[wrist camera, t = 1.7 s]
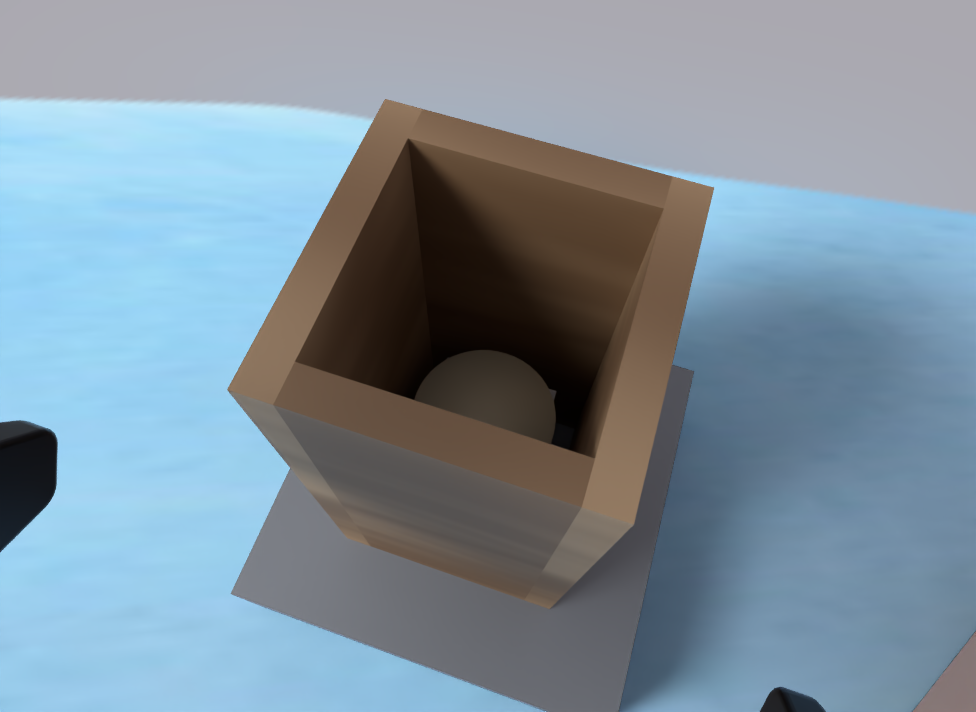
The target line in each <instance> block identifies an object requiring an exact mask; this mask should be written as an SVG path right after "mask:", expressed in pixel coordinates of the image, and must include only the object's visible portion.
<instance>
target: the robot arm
mask: <svg viewBox="0 0 976 712" xmlns="http://www.w3.org/2000/svg"><path fill="white" fill-rule="evenodd" d="M57 447H58V442H57V438H56V435H55V433H54V432H53V431H51V430H50V429H48V428H45V427H42V426H39V425H36V424H34V423H31V422H27V421H21V420H19V421H10V422H1V423H0V552H1V551H2V550H3V549H4V548H5V547H6V546H7V545H8V544H9V543H10V542H11V541H12V540H13V539H14V538H15V537H16V536H17V535H18V534H19V533H20V532H21V531H22V530H23V529H24V528H25V527H26V526H27V525H28V524H29V523H30V522H31V521H32V520H33V519H34V518H35V517H36V516H37V515H38V514H39V513H40V512H41V511H42V510H43V509H44V508H45V507H46V506H47V505H48V503H49V502H50V501H51V499H52V497H53V495H54V493H55V490H56V484H57ZM760 712H826V711H825V710H824V709H823V707H822V706H821V705H820V704H819V703H818V702H817V701H816V700H815V699H813V698H812V697H809V696H807V695H804V694H801V693H798V692H795V691H792V690H790V689H787V688H784V687H777V688H774V689H773V690H772V691H771V692H770V694H769V695H768V697H767V699H766V701H765V703H764V705H763V707H762V709H761V711H760Z"/></svg>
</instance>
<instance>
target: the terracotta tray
mask: <svg viewBox="0 0 976 712" xmlns="http://www.w3.org/2000/svg"><path fill="white" fill-rule="evenodd" d="M913 712H976V632H975V633H974V634H973V635H972V637H971V638H970V639H969V641H968V642H967V643H966V644H965V646H964V647H963V648H962V649H961V651H960V652H959V653H958V655H957V656H956V657H955V658H954V660H953V661H952V662H951V663H950V665H949V666H948V667H947V669H946V670H945V671H944V672H943V674H942V675H941V676H940V677H939V679H938V680H937V681H936V683H935V684H934V685H933V686H932V688H931V689H930V690H929V691H928V693H927V694H926V695H925V697H924V698H923V699H922V700H921V702H920V703H919V704H918V705H917V707H916V708H915V709H914V711H913Z"/></svg>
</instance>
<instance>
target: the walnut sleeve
mask: <svg viewBox="0 0 976 712" xmlns="http://www.w3.org/2000/svg"><path fill="white" fill-rule="evenodd" d="M713 190H714V188H713V187H710V186H706V185H702V184H698V183H695V182H691V181H687V180H684V179H680V178H676V177H672V176H669V175H665V174H661V173H658V172H654V171H650V170H647V169H643V168H639V167H635V166H632V165H628V164H624V163H621V162H617V161H613V160H609V159H606V158H602V157H598V156H595V155H591V154H587V153H583V152H580V151H576V150H572V149H568V148H565V147H561V146H558V145H554V144H550V143H546V142H542V141H539V140H535V139H532V138H528V137H524V136H520V135H516V134H513V133H509V132H506V131H502V130H498V129H495V128H491V127H487V126H483V125H480V124H476V123H472V122H469V121H465V120H461V119H457V118H454V117H450V116H446V115H442V114H439V113H435V112H432V111H427V110H423V109H420V108H417V107H413V106H409V105H405V104H402V103H398V102H394V101H391V100H387V99H385V100H384V102H383V104H382V106H381V108H380V109H379V111H378V113H377V115H376V117H375V118H374V120H373V122H372V124H371V126H370V128H369V130H368V131H367V133H366V135H365V137H364V139H363V141H362V142H361V144H360V146H359V148H358V150H357V152H356V153H355V155H354V157H353V159H352V161H351V163H350V165H349V166H348V168H347V170H346V172H345V174H344V176H343V177H342V179H341V181H340V183H339V185H338V187H337V188H336V190H335V192H334V194H333V196H332V198H331V200H330V201H329V203H328V205H327V207H326V209H325V211H324V212H323V214H322V216H321V218H320V220H319V222H318V223H317V225H316V227H315V229H314V231H313V233H312V234H311V236H310V238H309V240H308V242H307V244H306V246H305V247H304V249H303V251H302V253H301V255H300V257H299V258H298V260H297V262H296V264H295V266H294V268H293V269H292V271H291V273H290V275H289V277H288V279H287V281H286V282H285V284H284V286H283V288H282V290H281V292H280V293H279V295H278V297H277V299H276V301H275V303H274V304H273V306H272V308H271V310H270V312H269V314H268V316H267V317H266V319H265V321H264V323H263V325H262V327H261V328H260V330H259V332H258V334H257V336H256V338H255V339H254V341H253V343H252V345H251V347H250V349H249V351H248V352H247V354H246V356H245V358H244V360H243V362H242V363H241V365H240V367H239V369H238V371H237V373H236V374H235V376H234V378H233V380H232V382H231V384H230V386H229V387H228V389H227V390H228V391H229V393H230V394H231V395H232V396H233V398H234V399H235V400H236V401H237V403H238V404H239V405H240V406H241V407H242V409H243V410H244V411H245V412H246V414H247V415H248V416H249V417H250V419H251V420H252V421H253V422H254V424H255V425H256V426H257V427H258V429H259V430H260V431H261V432H262V433H263V435H264V436H265V437H266V438H267V440H268V441H269V442H270V443H271V445H272V446H273V447H274V448H275V450H276V451H277V452H278V453H279V455H280V456H281V457H282V458H283V459H284V461H285V462H286V463H287V464H288V466H289V467H290V468H291V469H292V471H293V472H294V473H295V474H296V476H297V477H298V478H299V479H300V480H301V482H302V483H303V484H304V485H305V487H306V488H307V489H308V490H309V492H310V493H311V494H312V495H313V497H314V498H315V499H316V500H317V502H318V503H319V504H320V505H321V506H322V508H323V509H324V510H325V511H326V513H327V514H328V515H329V516H330V518H331V519H332V520H333V521H334V523H335V524H336V525H337V526H338V528H339V529H340V530H341V531H342V532H343V534H344V535H345V536H346V537H347V538H348V539H351V540H354V541H357V542H360V543H363V544H365V545H368V546H371V547H374V548H377V549H380V550H383V551H385V552H388V553H391V554H394V555H397V556H400V557H402V558H405V559H408V560H411V561H414V562H417V563H420V564H422V565H425V566H428V567H431V568H434V569H437V570H439V571H442V572H445V573H448V574H451V575H454V576H457V577H459V578H462V579H465V580H468V581H471V582H474V583H476V584H479V585H482V586H485V587H488V588H491V589H494V590H496V591H499V592H502V593H505V594H508V595H511V596H513V597H516V598H519V599H522V600H525V601H528V602H531V603H533V604H536V605H539V606H542V607H545V608H548V609H550V608H551V607H552V606H553V605H554V604H555V603H556V602H557V601H558V600H559V599H560V598H561V597H562V596H563V595H564V594H565V593H566V592H567V591H568V590H569V589H570V588H571V587H572V586H573V585H574V584H575V583H576V582H577V581H578V580H579V579H580V578H581V577H582V576H583V575H584V574H585V573H586V572H587V571H588V570H589V569H590V568H591V567H592V566H593V565H594V564H595V563H596V562H597V561H598V560H599V559H600V558H601V557H602V556H603V555H604V554H605V553H606V552H607V551H608V550H609V549H610V548H611V547H612V546H613V545H614V544H615V543H616V542H617V541H618V540H619V539H620V538H621V537H622V536H623V535H624V534H625V533H626V532H627V531H628V530H629V529H630V528H631V527H632V526H633V525H634V522H635V518H636V513H637V509H638V505H639V501H640V497H641V492H642V488H643V484H644V480H645V476H646V471H647V467H648V463H649V459H650V455H651V450H652V446H653V442H654V438H655V434H656V429H657V425H658V421H659V417H660V413H661V408H662V404H663V400H664V396H665V392H666V388H667V383H668V379H669V375H670V371H671V367H672V362H673V358H674V354H675V350H676V346H677V341H678V337H679V333H680V329H681V325H682V320H683V316H684V312H685V308H686V304H687V299H688V295H689V291H690V287H691V283H692V278H693V274H694V270H695V266H696V262H697V257H698V253H699V249H700V245H701V241H702V237H703V232H704V228H705V224H706V220H707V216H708V211H709V207H710V203H711V199H712V195H713ZM475 350H492V351H498V352H502V353H506V354H509V355H512V356H514V357H516V358H518V359H520V360H522V361H524V362H525V363H526V364H528V365H529V366H531V367H532V368H533V369H534V370H535V371H536V372H537V373H538V374H539V375H540V376H541V378H542V379H543V380H544V382H545V383H546V385H547V387H548V389H551V390H554V391H557V392H556V395H555V398H554V406H555V413H556V423H559V424H562V425H565V426H568V427H571V428H575V430H574V433H573V436H572V440H571V443H570V447H569V450H567V449H564V448H561V447H558V446H555V445H552V444H549V443H545V442H542V441H539V440H536V439H533V438H530V437H527V436H524V435H521V434H517V433H514V432H511V431H508V430H505V429H502V428H499V427H496V426H493V425H490V424H486V423H483V422H480V421H477V420H474V419H471V418H468V417H465V416H462V415H459V414H455V413H452V412H449V411H446V410H443V409H440V408H437V407H434V406H431V405H428V404H424V403H421V402H418V401H415V400H414V399H415V396H416V393H417V391H418V389H419V387H420V385H421V383H422V382H423V380H424V379H425V377H426V376H427V375H428V374H429V373H430V372H431V371H432V370H433V369H434V368H435V367H436V366H437V365H439V364H440V363H442V362H443V361H445V360H447V357H449V358H450V357H452V356H455V355H458V354H460V353H464V352H468V351H475Z"/></svg>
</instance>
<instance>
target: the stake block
mask: <svg viewBox="0 0 976 712" xmlns="http://www.w3.org/2000/svg"><path fill="white" fill-rule="evenodd" d="M693 374H694V371H691V370H688V369H685V368H681V367H678V366H675V365H672V367H671V371H670V375H669V379H668V383H667V388H666V392H665V396H664V400H663V404H662V408H661V413H660V417H659V421H658V425H657V429H656V434H655V438H654V442H653V446H652V450H651V455H650V459H649V463H648V467H647V471H646V476H645V480H644V484H643V488H642V492H641V497H640V501H639V505H638V509H637V513H636V518H635V522H634V525H633V526H632V527H631V528H630V529H629V530H628V531H627V532H626V533H625V534H624V535H623V536H622V537H621V538H620V539H619V540H618V541H617V542H616V543H615V544H614V545H613V546H612V547H611V548H610V549H609V550H608V551H607V552H606V553H605V554H604V555H603V556H602V557H601V558H600V559H599V560H598V561H597V562H596V563H595V564H594V565H593V566H592V567H591V568H590V569H589V570H588V571H587V572H586V573H585V574H584V575H583V576H582V577H581V578H580V579H579V580H578V581H577V582H576V583H575V584H574V585H573V586H572V587H571V588H570V589H569V590H568V591H567V592H566V593H565V594H564V595H563V596H562V597H561V598H560V599H559V600H558V601H557V602H556V603H555V604H554V605H553V606H552V607H551V608H550V609H548V608H545V607H542V606H539V605H536V604H533V603H531V602H528V601H525V600H522V599H519V598H516V597H513V596H511V595H508V594H505V593H502V592H499V591H496V590H494V589H491V588H488V587H485V586H482V585H479V584H476V583H474V582H471V581H468V580H465V579H462V578H459V577H457V576H454V575H451V574H448V573H445V572H442V571H439V570H437V569H434V568H431V567H428V566H425V565H422V564H420V563H417V562H414V561H411V560H408V559H405V558H402V557H400V556H397V555H394V554H391V553H388V552H385V551H383V550H380V549H377V548H374V547H371V546H368V545H365V544H363V543H360V542H357V541H354V540H351V539H348V538H347V537H346V536H345V535H344V534H343V532H342V531H341V530H340V529H339V528H338V526H337V525H336V524H335V523H334V521H333V520H332V519H331V518H330V516H329V515H328V514H327V513H326V511H325V510H324V509H323V508H322V506H321V505H320V504H319V503H318V502H317V500H316V499H315V498H314V497H313V495H312V494H311V493H310V492H309V490H308V489H307V488H306V487H305V485H304V484H303V483H302V482H301V480H300V479H299V478H298V477H297V476H296V474H295V473H294V472H293V471H292V469H291V468H290V470H289V472H288V474H287V476H286V478H285V480H284V482H283V484H282V487H281V489H280V491H279V493H278V495H277V497H276V499H275V501H274V503H273V506H272V508H271V510H270V512H269V514H268V516H267V518H266V520H265V522H264V525H263V527H262V529H261V531H260V533H259V535H258V537H257V539H256V541H255V544H254V546H253V548H252V550H251V552H250V554H249V556H248V558H247V560H246V563H245V565H244V567H243V569H242V571H241V573H240V575H239V577H238V579H237V582H236V584H235V586H234V588H233V590H232V592H231V594H232V595H235V596H237V597H240V598H242V599H245V600H247V601H250V602H252V603H255V604H257V605H260V606H262V607H265V608H268V609H271V610H273V611H276V612H279V613H281V614H284V615H287V616H290V617H292V618H295V619H298V620H300V621H303V622H306V623H308V624H311V625H314V626H317V627H319V628H322V629H325V630H327V631H330V632H333V633H336V634H338V635H341V636H344V637H346V638H349V639H352V640H354V641H357V642H360V643H363V644H365V645H368V646H371V647H373V648H376V649H379V650H382V651H384V652H387V653H390V654H392V655H395V656H398V657H400V658H403V659H406V660H409V661H411V662H414V663H417V664H419V665H422V666H425V667H428V668H430V669H433V670H436V671H438V672H441V673H444V674H447V675H449V676H452V677H455V678H457V679H460V680H463V681H465V682H468V683H471V684H474V685H476V686H479V687H482V688H484V689H487V690H490V691H493V692H495V693H498V694H501V695H503V696H506V697H509V698H511V699H514V700H517V701H520V702H522V703H525V704H528V705H530V706H533V707H536V708H539V709H541V710H544V711H547V712H619V707H620V703H621V698H622V694H623V689H624V685H625V680H626V676H627V671H628V667H629V662H630V658H631V653H632V649H633V644H634V640H635V635H636V631H637V626H638V622H639V617H640V613H641V608H642V604H643V599H644V595H645V590H646V586H647V581H648V577H649V572H650V568H651V563H652V559H653V554H654V550H655V545H656V541H657V536H658V532H659V527H660V523H661V518H662V514H663V509H664V505H665V500H666V496H667V491H668V486H669V482H670V477H671V473H672V468H673V464H674V459H675V455H676V450H677V446H678V441H679V437H680V432H681V428H682V423H683V419H684V414H685V410H686V405H687V401H688V396H689V392H690V387H691V383H692V378H693ZM556 392H557V391H554V390H551V389H548V387H547V385H546V383H545V382H544V380H543V379H542V378H541V376H540V375H539V374H538V373H537V372H536V371H535V370H534V369H533V368H532V367H531V366H529V365H528V364H526V363H525V362H524V361H522V360H520V359H518V358H516V357H514V356H512V355H509V354H506V353H502V352H498V351H492V350H475V351H468V352H464V353H460V354H458V355H455V356H452V357H450V358H449V357H447V360H445V361H443V362H442V363H440V364H439V365H437V366H436V367H435V368H434V369H433V370H432V371H431V372H430V373H429V374H428V375H427V376H426V377H425V379H424V380H423V382H422V383H421V385H420V387H419V389H418V391H417V393H416V396H415V399H414V400H415V401H418V402H421V403H424V404H428V405H431V406H434V407H437V408H440V409H443V410H446V411H449V412H452V413H455V414H459V415H462V416H465V417H468V418H471V419H474V420H477V421H480V422H483V423H486V424H490V425H493V426H496V427H499V428H502V429H505V430H508V431H511V432H514V433H517V434H521V435H524V436H527V437H530V438H533V439H536V440H539V441H542V442H545V443H549V444H552V445H555V446H558V447H561V448H564V449H567V450H569V447H570V443H571V440H572V436H573V433H574V430H575V428H571V427H568V426H565V425H562V424H559V423H556V413H555V406H554V398H555V395H556Z"/></svg>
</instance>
